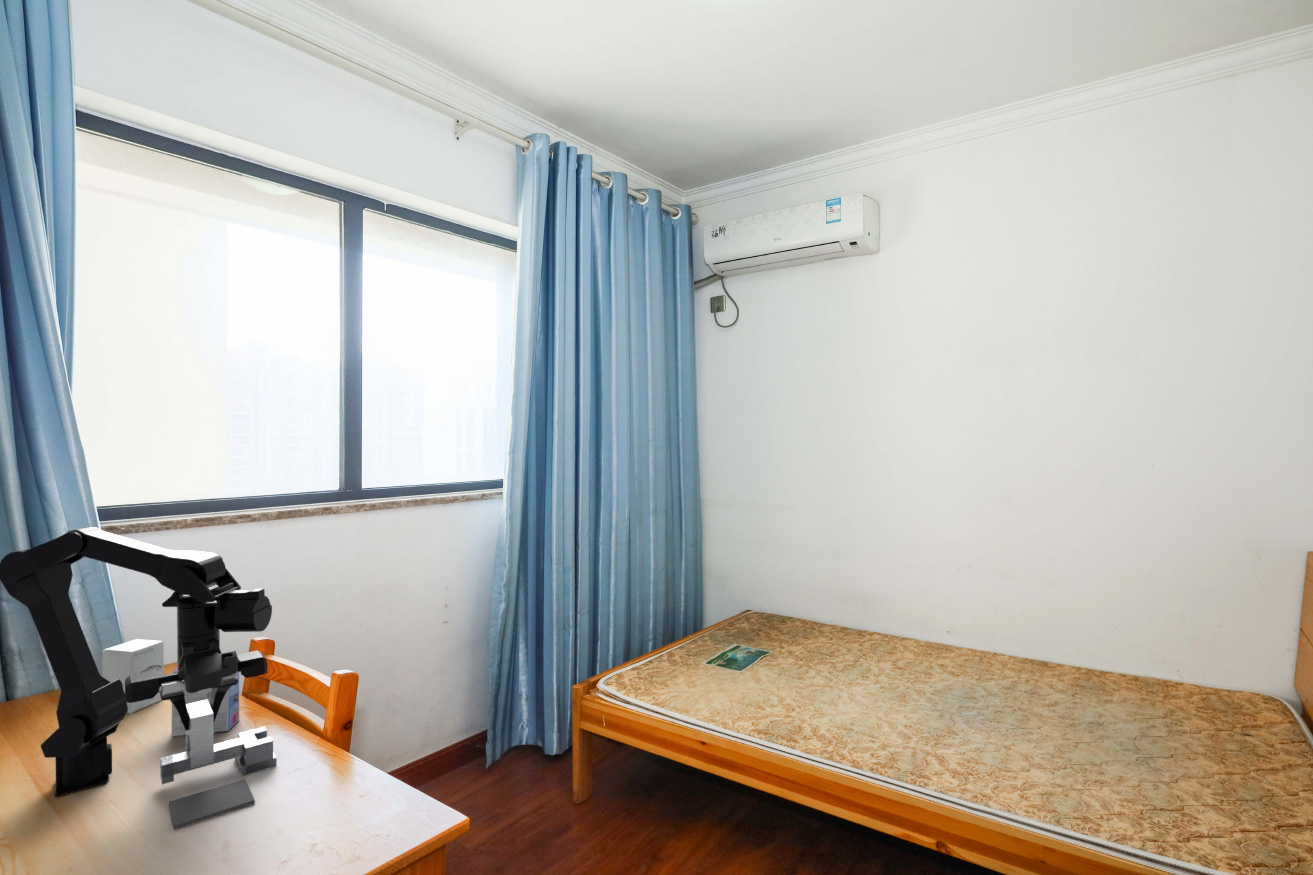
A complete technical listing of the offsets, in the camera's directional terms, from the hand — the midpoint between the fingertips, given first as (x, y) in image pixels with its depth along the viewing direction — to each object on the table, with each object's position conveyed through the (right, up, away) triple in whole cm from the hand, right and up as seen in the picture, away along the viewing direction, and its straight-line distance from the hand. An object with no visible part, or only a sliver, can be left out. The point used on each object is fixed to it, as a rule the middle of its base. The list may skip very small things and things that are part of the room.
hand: (199, 726), depth 108 cm
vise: (+2, -9, +2) cm, 9 cm away
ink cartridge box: (-11, -9, +18) cm, 23 cm away
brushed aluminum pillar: (0, -1, 0) cm, 1 cm away
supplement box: (-33, -8, +28) cm, 44 cm away
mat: (+7, -9, -7) cm, 13 cm away
